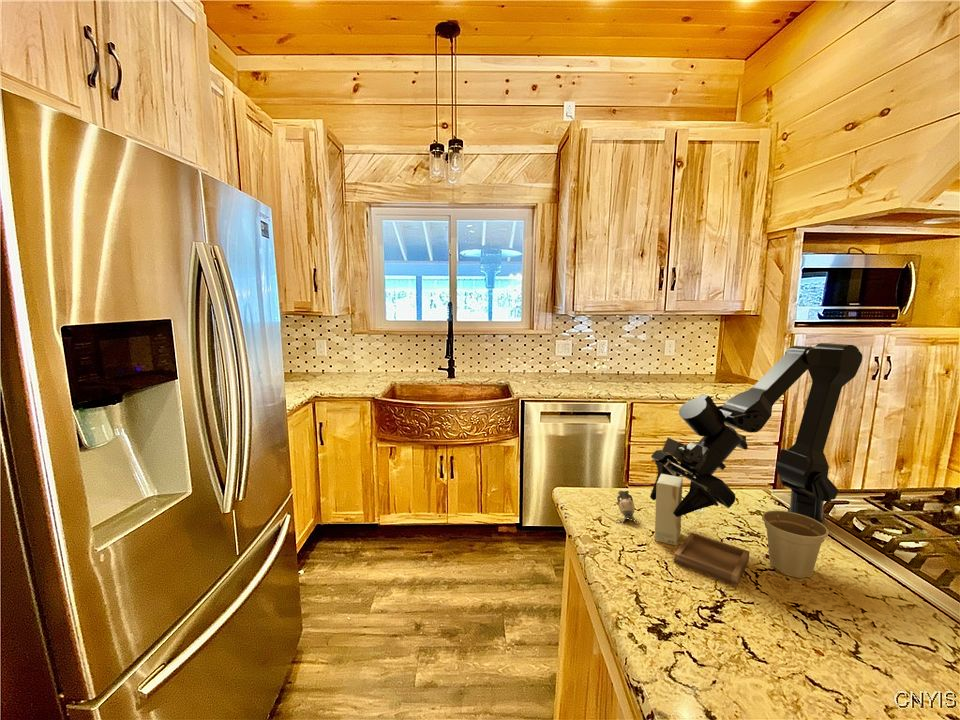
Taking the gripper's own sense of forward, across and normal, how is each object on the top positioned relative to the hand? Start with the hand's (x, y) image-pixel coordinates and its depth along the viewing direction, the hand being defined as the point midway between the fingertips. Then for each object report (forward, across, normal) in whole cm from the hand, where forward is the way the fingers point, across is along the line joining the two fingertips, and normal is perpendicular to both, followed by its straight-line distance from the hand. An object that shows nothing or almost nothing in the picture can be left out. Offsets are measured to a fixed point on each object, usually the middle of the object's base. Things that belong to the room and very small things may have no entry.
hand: (662, 506), depth 83 cm
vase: (+7, -9, +3) cm, 12 cm away
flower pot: (-6, +14, +16) cm, 22 cm away
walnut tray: (+2, +9, +7) cm, 12 cm away
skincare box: (+4, 0, +6) cm, 7 cm away
